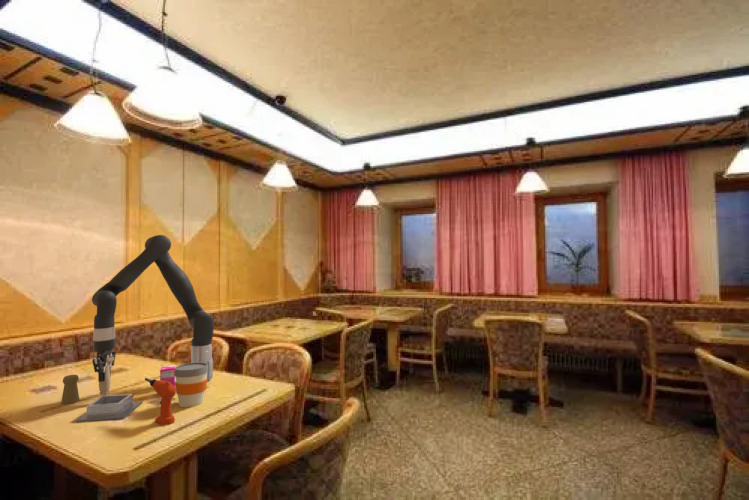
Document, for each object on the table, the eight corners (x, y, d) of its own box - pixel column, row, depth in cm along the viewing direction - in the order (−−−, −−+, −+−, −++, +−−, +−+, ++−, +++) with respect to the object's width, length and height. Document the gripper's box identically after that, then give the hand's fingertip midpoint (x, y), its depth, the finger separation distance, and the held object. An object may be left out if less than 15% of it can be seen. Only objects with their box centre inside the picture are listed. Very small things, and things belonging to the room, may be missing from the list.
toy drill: (149, 407, 146) (152, 369, 145) (177, 423, 136) (181, 383, 136) (136, 412, 141) (139, 372, 141) (164, 429, 132) (167, 386, 131)
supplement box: (161, 392, 168) (161, 366, 168) (176, 390, 170) (176, 364, 171) (159, 396, 163) (159, 369, 163) (175, 394, 165) (175, 367, 165)
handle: (115, 393, 158) (115, 357, 158) (96, 398, 153) (96, 360, 153) (112, 391, 161) (112, 355, 161) (93, 395, 156) (93, 359, 157)
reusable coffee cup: (173, 411, 146) (174, 372, 146) (174, 401, 157) (174, 364, 157) (209, 405, 151) (209, 367, 152) (207, 395, 162) (207, 360, 163)
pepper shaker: (83, 400, 159) (83, 373, 160) (67, 405, 153) (67, 377, 154) (73, 398, 161) (73, 372, 162) (57, 403, 155) (57, 376, 156)
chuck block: (142, 403, 155) (142, 391, 155) (123, 418, 139) (123, 405, 139) (99, 406, 152) (99, 394, 152) (75, 422, 136) (75, 409, 136)
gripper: (105, 341, 151) (105, 384, 151) (122, 334, 165) (122, 373, 165) (84, 342, 150) (84, 385, 149) (103, 335, 164) (103, 375, 163)
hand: (104, 379), depth 157 cm, fingers closed on handle, 4 cm apart
